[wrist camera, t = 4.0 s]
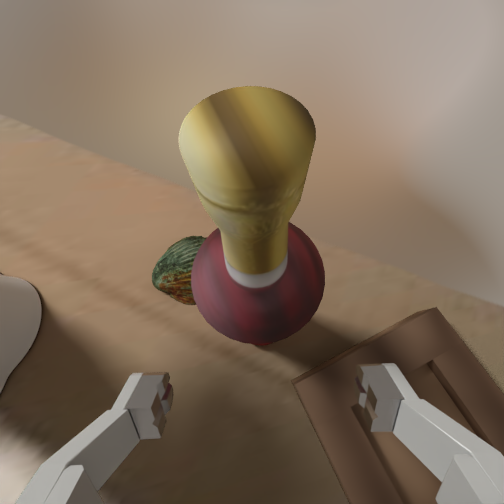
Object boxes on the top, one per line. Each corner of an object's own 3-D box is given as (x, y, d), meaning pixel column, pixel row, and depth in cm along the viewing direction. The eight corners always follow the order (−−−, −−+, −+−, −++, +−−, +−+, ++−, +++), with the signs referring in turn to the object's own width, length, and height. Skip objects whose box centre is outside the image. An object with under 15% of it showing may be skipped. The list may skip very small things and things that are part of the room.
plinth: (389, 588, 21) (412, 631, 18) (291, 380, 28) (294, 384, 24) (542, 480, 23) (586, 501, 20) (417, 311, 30) (436, 307, 27)
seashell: (232, 276, 29) (152, 310, 28) (237, 287, 32) (166, 317, 31) (206, 214, 33) (136, 242, 32) (213, 230, 37) (150, 255, 36)
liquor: (244, 357, 29) (81, 427, 3) (223, 301, 31) (42, 77, 6) (299, 332, 30) (553, 213, 4) (274, 280, 32) (321, -3, 6)
